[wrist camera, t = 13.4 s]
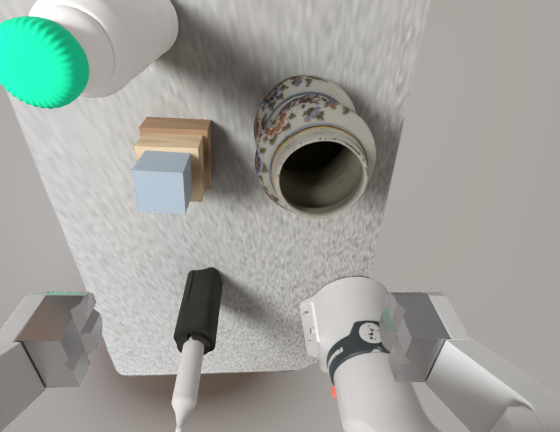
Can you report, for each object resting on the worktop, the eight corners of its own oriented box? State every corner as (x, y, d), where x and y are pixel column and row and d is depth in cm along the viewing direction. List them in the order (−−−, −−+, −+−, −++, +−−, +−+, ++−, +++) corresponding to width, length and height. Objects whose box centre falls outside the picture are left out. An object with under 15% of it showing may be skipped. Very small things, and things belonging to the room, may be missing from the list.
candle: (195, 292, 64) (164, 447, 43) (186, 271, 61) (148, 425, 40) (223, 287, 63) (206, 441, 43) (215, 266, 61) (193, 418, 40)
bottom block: (213, 174, 52) (210, 188, 48) (155, 172, 51) (148, 186, 48) (211, 119, 47) (207, 129, 44) (147, 116, 47) (139, 127, 43)
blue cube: (192, 191, 44) (185, 214, 40) (149, 189, 43) (138, 212, 39) (190, 152, 41) (182, 173, 37) (145, 150, 41) (131, 170, 36)
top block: (205, 185, 48) (201, 201, 45) (151, 184, 48) (143, 200, 44) (202, 135, 44) (197, 148, 41) (143, 133, 44) (133, 146, 40)
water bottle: (107, 35, 41) (-49, 98, 20) (123, -32, 38) (-44, -40, 17) (168, 65, 43) (84, 150, 22) (188, 4, 40) (111, 37, 19)
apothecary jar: (293, 173, 52) (307, 255, 37) (234, 110, 46) (223, 174, 31) (365, 119, 48) (413, 185, 33) (310, 43, 42) (338, 80, 27)
